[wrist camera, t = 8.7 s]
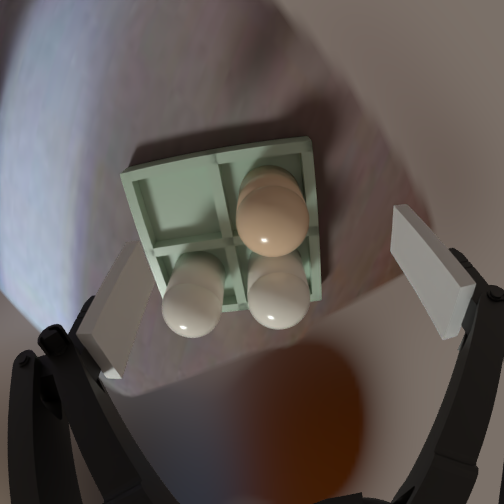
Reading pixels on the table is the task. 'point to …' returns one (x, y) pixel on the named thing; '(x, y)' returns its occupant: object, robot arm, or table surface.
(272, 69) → the table surface
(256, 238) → the brown egg
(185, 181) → the egg tray
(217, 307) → the cream egg
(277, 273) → the cream egg
